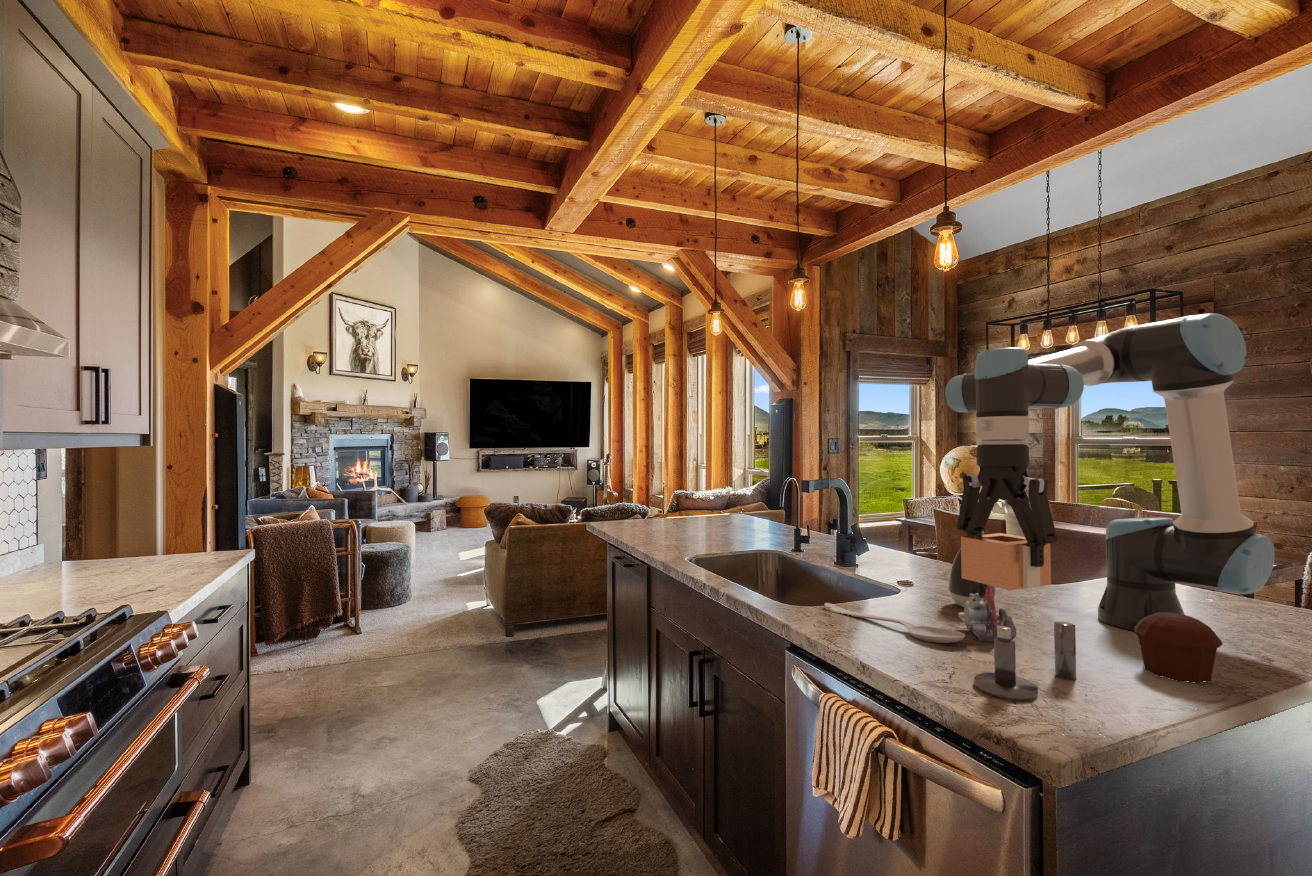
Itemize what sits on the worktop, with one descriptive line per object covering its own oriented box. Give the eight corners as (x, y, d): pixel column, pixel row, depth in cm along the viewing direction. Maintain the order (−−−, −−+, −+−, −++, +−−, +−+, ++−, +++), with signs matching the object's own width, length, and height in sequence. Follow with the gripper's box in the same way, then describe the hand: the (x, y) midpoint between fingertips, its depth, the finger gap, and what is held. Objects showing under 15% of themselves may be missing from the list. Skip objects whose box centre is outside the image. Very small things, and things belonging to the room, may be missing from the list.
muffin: (1118, 663, 107) (1116, 608, 107) (1165, 657, 110) (1164, 603, 110) (1190, 690, 96) (1189, 628, 96) (1241, 683, 98) (1240, 622, 98)
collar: (1001, 573, 103) (1000, 533, 103) (1051, 584, 95) (1050, 540, 95) (961, 578, 100) (960, 536, 100) (1009, 590, 92) (1008, 544, 92)
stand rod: (1063, 671, 104) (1062, 620, 104) (1080, 678, 101) (1079, 625, 101) (1051, 674, 103) (1049, 622, 103) (1068, 681, 100) (1067, 627, 100)
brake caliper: (1035, 635, 116) (992, 584, 118) (986, 665, 118) (945, 615, 121) (1019, 619, 127) (980, 572, 129) (974, 646, 129) (937, 600, 132)
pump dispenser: (1006, 612, 140) (1004, 547, 140) (961, 612, 140) (960, 548, 140) (982, 600, 150) (981, 540, 150) (941, 601, 150) (940, 541, 150)
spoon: (975, 645, 119) (974, 631, 119) (952, 652, 114) (951, 638, 115) (836, 611, 148) (836, 600, 148) (814, 616, 144) (814, 605, 144)
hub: (1001, 675, 103) (1000, 617, 103) (1051, 695, 95) (1050, 632, 95) (961, 683, 100) (960, 623, 100) (1009, 705, 91) (1008, 640, 92)
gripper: (932, 443, 107) (934, 568, 106) (1049, 443, 86) (1051, 598, 86) (964, 443, 109) (966, 565, 109) (1085, 442, 89) (1087, 593, 88)
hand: (1004, 579), depth 97 cm, fingers closed on collar, 9 cm apart
